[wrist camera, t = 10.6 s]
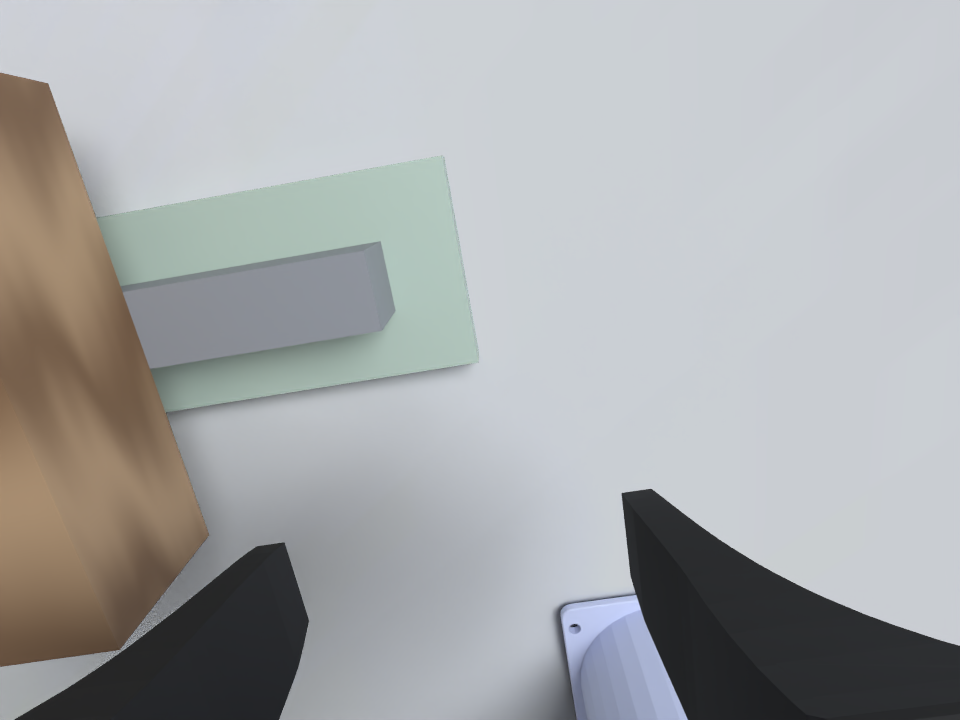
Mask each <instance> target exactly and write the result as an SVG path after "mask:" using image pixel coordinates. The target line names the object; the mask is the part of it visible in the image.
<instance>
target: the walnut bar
mask: <svg viewBox="0 0 960 720" xmlns="http://www.w3.org/2000/svg"><path fill="white" fill-rule="evenodd" d="M208 536H209V533H208V530H207V527H206V525H205V522H204V519H203V516H202V513H201V511H200V508H199V505H198V502H197V499H196V497H195V494H194V491H193V488H192V485H191V483H190V480H189V477H188V474H187V471H186V469H185V466H184V463H183V460H182V457H181V455H180V452H179V449H178V446H177V443H176V441H175V438H174V435H173V432H172V429H171V427H170V424H169V421H168V418H167V415H166V413H165V410H164V407H163V404H162V401H161V399H160V396H159V393H158V390H157V387H156V385H155V382H154V379H153V376H152V373H151V371H150V368H149V365H148V362H147V359H146V357H145V354H144V351H143V348H142V345H141V343H140V340H139V337H138V334H137V331H136V329H135V326H134V323H133V320H132V317H131V315H130V312H129V309H128V306H127V303H126V301H125V298H124V295H123V292H122V289H121V286H120V284H119V281H118V278H117V275H116V272H115V270H114V267H113V264H112V261H111V258H110V256H109V253H108V250H107V247H106V244H105V242H104V239H103V236H102V233H101V230H100V228H99V225H98V222H97V219H96V216H95V214H94V211H93V208H92V205H91V202H90V200H89V197H88V194H87V191H86V188H85V186H84V183H83V180H82V177H81V174H80V172H79V169H78V166H77V163H76V160H75V158H74V155H73V152H72V149H71V146H70V144H69V141H68V138H67V135H66V132H65V130H64V127H63V124H62V121H61V118H60V116H59V113H58V110H57V107H56V104H55V102H54V99H53V96H52V93H51V90H50V88H49V85H48V83H44V82H39V81H35V80H30V79H26V78H21V77H17V76H13V75H8V74H4V73H0V667H2V666H9V665H16V664H23V663H30V662H37V661H44V660H51V659H59V658H66V657H73V656H80V655H87V654H94V653H101V652H108V651H115V650H120V649H121V647H122V646H123V645H124V644H125V642H126V641H127V640H128V638H129V637H130V636H131V635H132V633H133V632H134V631H135V629H136V628H137V627H138V626H139V624H140V623H141V622H142V620H143V619H144V618H145V617H146V615H147V614H148V613H149V611H150V610H151V609H152V608H153V606H154V605H155V604H156V602H157V601H158V600H159V599H160V597H161V596H162V595H163V593H164V592H165V591H166V590H167V588H168V587H169V586H170V585H171V583H172V582H173V581H174V579H175V578H176V577H177V576H178V574H179V573H180V572H181V570H182V569H183V568H184V567H185V565H186V564H187V563H188V561H189V560H190V559H191V558H192V556H193V555H194V554H195V552H196V551H197V550H198V549H199V547H200V546H201V545H202V543H203V542H204V541H205V540H206V538H207V537H208Z"/></svg>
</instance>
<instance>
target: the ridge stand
mask: <svg viewBox="0 0 960 720" xmlns="http://www.w3.org/2000/svg"><path fill="white" fill-rule="evenodd" d="M96 219H97V222H98V225H99V228H100V230H101V233H102V236H103V239H104V242H105V244H106V247H107V250H108V253H109V256H110V258H111V261H112V264H113V267H114V270H115V272H116V275H117V278H118V281H119V284H120V286H121V289H122V292H123V295H124V298H125V301H126V303H127V306H128V309H129V312H130V315H131V317H132V320H133V323H134V326H135V329H136V331H137V334H138V337H139V340H140V343H141V345H142V348H143V351H144V354H145V357H146V359H147V362H148V365H149V368H150V371H151V373H152V376H153V379H154V382H155V385H156V387H157V390H158V393H159V396H160V399H161V401H162V404H163V407H164V410H165V412H171V411H177V410H184V409H190V408H196V407H203V406H209V405H215V404H221V403H228V402H234V401H240V400H246V399H253V398H259V397H265V396H271V395H278V394H284V393H290V392H296V391H303V390H309V389H315V388H321V387H328V386H334V385H340V384H346V383H353V382H359V381H365V380H372V379H378V378H384V377H390V376H397V375H403V374H409V373H415V372H422V371H428V370H434V369H440V368H447V367H453V366H459V365H465V364H472V363H478V360H479V352H478V346H477V340H476V335H475V329H474V323H473V318H472V312H471V306H470V301H469V295H468V290H467V284H466V278H465V273H464V267H463V261H462V256H461V250H460V244H459V239H458V233H457V227H456V222H455V216H454V210H453V205H452V199H451V194H450V188H449V182H448V177H447V171H446V165H445V160H444V157H443V156H437V157H431V158H426V159H420V160H415V161H409V162H404V163H398V164H393V165H387V166H381V167H376V168H370V169H365V170H359V171H354V172H348V173H343V174H337V175H332V176H326V177H320V178H315V179H309V180H304V181H298V182H293V183H287V184H282V185H276V186H271V187H265V188H260V189H254V190H248V191H243V192H237V193H232V194H226V195H221V196H215V197H210V198H204V199H199V200H193V201H187V202H182V203H176V204H171V205H165V206H160V207H154V208H149V209H143V210H138V211H132V212H126V213H121V214H115V215H110V216H104V217H99V218H96Z"/></svg>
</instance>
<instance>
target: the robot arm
mask: <svg viewBox="0 0 960 720" xmlns="http://www.w3.org/2000/svg"><path fill="white" fill-rule="evenodd" d="M622 501H623V510H624V519H625V528H626V538H627V547H628V556H629V565H630V574H631V579H632V582H633V585H634V589H635V592H636V595H632V596H625V597H617V598H610V599H603V600H595V601H588V602H580V603H573V604H568V605H566V606H564V607H563V608H562V610H561V614H560V616H561V622H562V628H563V635H564V641H565V648H566V654H567V660H568V667H569V673H570V680H571V686H572V693H573V699H574V705H575V712H576V718H577V720H960V646H958V645H955V644H951V643H947V642H944V641H940V640H937V639H934V638H931V637H928V636H925V635H922V634H919V633H916V632H913V631H910V630H907V629H904V628H901V627H898V626H895V625H892V624H889V623H886V622H884V621H881V620H878V619H876V618H873V617H870V616H868V615H865V614H862V613H860V612H858V611H855V610H853V609H850V608H848V607H846V606H843V605H841V604H838V603H836V602H834V601H831V600H829V599H826V598H824V597H822V596H820V595H818V594H815V593H813V592H811V591H809V590H807V589H805V588H803V587H801V586H799V585H797V584H795V583H793V582H791V581H789V580H787V579H785V578H783V577H781V576H779V575H777V574H775V573H773V572H772V571H770V570H768V569H766V568H764V567H763V566H761V565H759V564H757V563H756V562H754V561H752V560H751V559H749V558H747V557H746V556H744V555H743V554H741V553H739V552H738V551H736V550H734V549H733V548H731V547H730V546H728V545H727V544H725V543H724V542H722V541H721V540H719V539H718V538H716V537H715V536H713V535H712V534H710V533H709V532H708V531H706V530H705V529H703V528H702V527H701V526H699V525H698V524H697V523H695V522H694V521H692V520H691V519H690V518H689V517H687V516H686V515H685V514H683V513H682V512H681V511H679V510H678V509H677V508H676V507H674V506H673V505H672V504H670V503H669V502H668V501H667V500H665V499H664V498H663V497H661V496H660V495H659V494H657V493H656V492H655V491H653V490H652V489H647V490H640V491H633V492H626V493H622ZM308 622H309V620H308V616H307V613H306V610H305V607H304V604H303V600H302V597H301V594H300V591H299V588H298V584H297V581H296V578H295V575H294V572H293V568H292V565H291V562H290V559H289V556H288V552H287V549H286V546H285V543H278V544H271V545H264V546H257V547H256V548H254V549H253V550H251V551H250V552H248V553H247V554H245V555H244V556H243V557H241V558H240V559H239V560H238V561H236V562H235V563H234V564H233V565H231V566H230V567H229V568H228V569H226V570H225V571H224V572H223V573H221V574H220V575H219V576H218V577H217V578H215V579H214V580H213V581H212V582H210V583H209V584H208V585H207V586H206V587H204V588H203V589H202V590H201V591H199V592H198V593H197V594H196V595H195V596H193V597H192V598H191V599H190V600H188V601H187V602H186V603H185V604H184V605H182V606H181V607H180V608H179V609H177V610H176V611H175V612H174V613H172V614H171V615H170V616H168V617H167V618H166V619H164V620H163V621H162V622H161V623H159V624H158V625H157V626H155V627H154V628H153V629H151V630H150V631H149V632H148V633H146V634H145V635H144V636H142V637H141V638H140V639H138V640H137V641H136V642H135V643H133V644H132V645H131V646H129V647H128V648H126V649H125V650H124V651H122V652H121V653H119V654H118V655H117V656H115V657H114V658H112V659H111V660H109V661H108V662H107V663H105V664H104V665H102V666H101V667H99V668H98V669H96V670H95V671H93V672H92V673H90V674H89V675H87V676H86V677H84V678H83V679H81V680H79V681H78V682H76V683H75V684H73V685H72V686H70V687H69V688H67V689H65V690H64V691H62V692H60V693H59V694H57V695H55V696H54V697H52V698H50V699H49V700H47V701H45V702H44V703H42V704H40V705H38V706H37V707H35V708H33V709H32V710H30V711H28V712H27V713H25V714H23V715H22V716H20V717H18V718H16V719H15V720H279V718H280V715H281V713H282V710H283V708H284V705H285V702H286V699H287V697H288V694H289V691H290V689H291V686H292V683H293V680H294V678H295V675H296V672H297V669H298V666H299V662H300V658H301V654H302V650H303V646H304V641H305V636H306V632H307V627H308ZM572 624H578V626H576V627H570V625H572Z"/></svg>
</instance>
